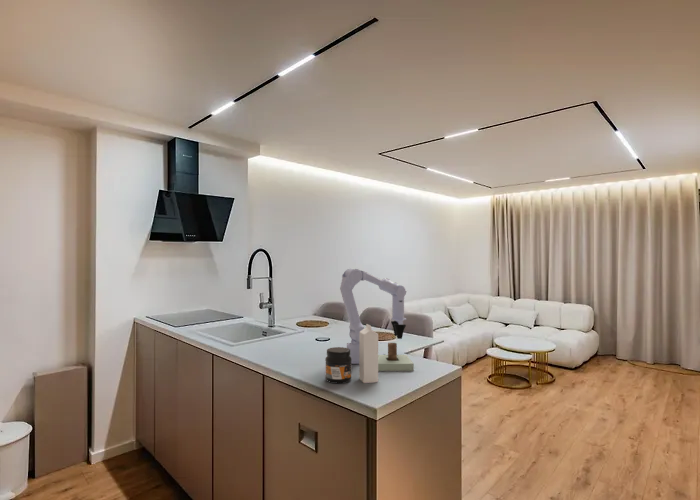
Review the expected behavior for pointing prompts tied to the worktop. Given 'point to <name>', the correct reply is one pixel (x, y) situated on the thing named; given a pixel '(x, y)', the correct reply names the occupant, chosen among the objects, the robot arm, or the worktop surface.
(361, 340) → the milk
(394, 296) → the robot arm
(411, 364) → the socket block
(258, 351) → the worktop surface
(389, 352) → the peg
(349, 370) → the supplement container
